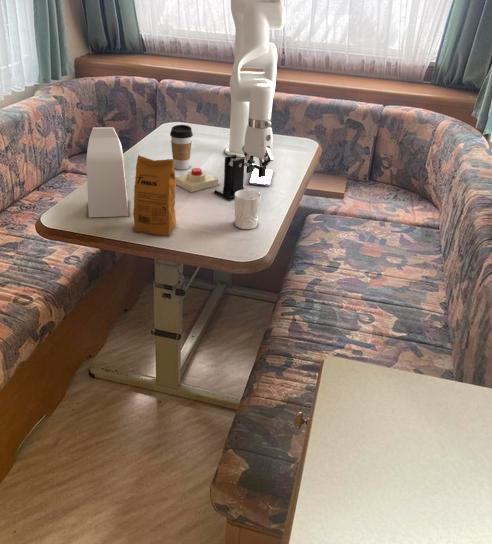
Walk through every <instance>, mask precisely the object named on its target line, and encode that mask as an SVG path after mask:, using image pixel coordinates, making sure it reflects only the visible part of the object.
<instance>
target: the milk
mask: <svg viewBox="0 0 492 544" xmlns="http://www.w3.org/2000/svg"><path fill="white" fill-rule="evenodd" d="M86 151H87V152H86V161H85V162H86V187H87V207H88V208H87V209H88V210H87V213H88V218H109V217H114V218H115V217H129V206H128V202H129V201H128V192H127V183H126V172H125V161H124V152H123V146H122V142H121V141H120V138H119V136H118V134H117V132H116V130H115V128H114V126H104V127H103V126H101V127H99V126H98V127H95V126H94V127H92V129H91V133H90V134H89V137H88V143H87V150H86Z"/></svg>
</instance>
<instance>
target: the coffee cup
mask: <svg viewBox="0 0 492 544" xmlns="http://www.w3.org/2000/svg"><path fill="white" fill-rule="evenodd" d="M170 129H171V130H170V132H169V136H170V145H171V154H172V159H173V160H174V170H180V171H181V170H183V171H184V170H188V169H190V164H191V163H190V162H191V155H192V154H191V152H192V144H193V143H192V142H193V140H192V139H193V138H192V137H193V136H194V134H193V131H192V127H191V126H190V125H186V124H176V125H174V126H172V127H171V128H170Z"/></svg>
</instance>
